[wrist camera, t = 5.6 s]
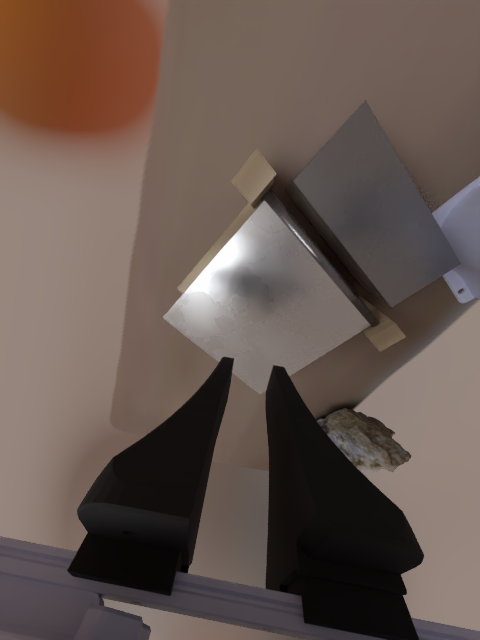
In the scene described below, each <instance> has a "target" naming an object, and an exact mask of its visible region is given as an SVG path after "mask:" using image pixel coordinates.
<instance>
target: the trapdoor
mask: <svg viewBox="0 0 480 640" xmlns="http://www.w3.org/2000/svg"><path fill="white" fill-rule="evenodd" d="M285 191H286V193H287V194H288V195H289V196H290V198H291V199H292V200H293V201H294V203H295V204H296V205H297V206H298V208H299V209H300V210H301V211H302V213H303V214H304V215H305V216H306V218H307V219H308V220H309V221H310V223H311V224H312V225H313V226H314V228H315V229H316V230H317V231H318V233H319V234H320V235H321V236H322V238H323V239H324V240H325V241H326V243H327V244H328V245H329V246H330V248H331V249H332V250H333V251H334V253H335V254H336V255H337V256H338V257H339V259H340V260H341V261H342V262H343V264H344V265H345V266H346V267H347V269H348V270H349V271H350V272H351V274H352V275H353V276H354V277H355V279H356V280H357V281H358V282H359V284H360V285H361V286H362V287H363V289H365V290H366V291H368V292H369V293H371V294H372V295H374V296H375V297H377V298H378V299H380V300H381V301H383V302H384V303H385V304H387V305H388V306H390V307H391V308H392V307H394V306H395V305H397V304H398V303H400V302H402V301H403V300H405V299H406V298H408V297H409V296H411V295H413V294H414V293H416V292H417V291H419V290H420V289H422V288H424V287H425V286H427V285H428V284H430V283H432V282H433V281H435V280H436V279H438V278H439V277H441V276H443V275H444V274H446V273H447V272H449V271H450V270H452V269H454V268H455V267H457V266H458V265H460V264H461V263H460V261H459V259H458V257H457V256H456V254H455V252H454V251H453V249H452V247H451V245H450V244H449V242H448V240H447V239H446V237H445V235H444V233H443V232H442V230H441V228H440V227H439V225H438V223H437V221H436V220H435V218H434V216H433V215H432V213H431V211H430V209H429V208H428V206H427V204H426V203H425V201H424V199H423V197H422V196H421V194H420V192H419V191H418V189H417V187H416V185H415V184H414V182H413V180H412V179H411V177H410V175H409V174H408V172H407V170H406V168H405V167H404V165H403V163H402V162H401V160H400V158H399V156H398V155H397V153H396V151H395V150H394V148H393V146H392V144H391V143H390V141H389V139H388V138H387V136H386V134H385V132H384V131H383V129H382V127H381V126H380V124H379V122H378V120H377V119H376V117H375V115H374V114H373V112H372V110H371V108H370V107H369V105H368V103H367V102H366V100H365V101H364V102H363V103H362V104H361V106H360V107H359V108H358V109H357V110H356V111H355V112H354V113H353V115H352V116H351V117H350V118H349V119H348V120H347V121H346V122H345V123H344V125H343V126H342V127H341V128H340V129H339V130H338V131H337V132H336V134H335V135H334V136H333V137H332V138H331V139H330V140H329V141H328V142H327V144H326V145H325V146H324V147H323V148H322V149H321V150H320V151H319V153H318V154H317V155H316V156H315V157H314V158H313V159H312V160H311V161H310V163H309V164H308V165H307V166H306V167H305V168H304V169H303V170H302V172H301V173H300V174H299V175H298V176H297V177H296V178H295V179H294V180H293V182H292V183H291V184H290V185H289V186H288V188H287V189H286V190H285ZM261 201H262V202H263V203H262V204H261V205H260V206H259V207H258V208H257V209H256V211H255V212H254V213H253V214H252V215H251V216H250V217H249V219H248V220H247V221H246V222H245V223H244V224H243V226H242V227H241V228H240V229H239V230H238V231H237V232H236V234H235V235H234V236H233V237H232V238H231V239H230V241H229V242H228V243H227V244H226V245H225V246H224V247H223V249H222V250H221V251H220V252H219V253H218V254H217V256H216V257H215V258H214V259H213V260H212V261H211V262H210V264H209V265H208V266H207V267H206V268H205V269H204V271H203V272H202V273H201V274H200V275H199V276H198V277H197V279H196V280H195V281H194V282H193V283H192V284H191V285H190V287H189V288H188V289H187V290H186V291H185V292H184V294H183V295H182V296H181V297H180V298H179V299H178V300H177V302H176V303H175V304H174V305H173V306H172V307H171V309H170V310H169V311H168V312H167V313H166V314H165V315H164V317H163V318H164V319H165V320H166V321H168V322H169V323H170V324H171V325H173V326H174V327H175V328H176V329H178V330H179V331H180V332H181V333H183V334H184V335H185V336H186V337H188V338H189V339H190V340H192V341H193V342H194V343H195V344H197V345H198V346H199V347H200V348H202V349H203V350H204V351H205V352H207V353H208V354H209V355H211V356H212V357H213V358H214V359H216V360H217V361H218V362H220V360H221V358H222V357H229V358H234V363H233V370H232V373H233V374H235V375H236V376H237V377H238V378H240V379H241V380H242V381H243V382H245V383H246V384H247V385H248V386H250V387H251V388H252V389H254V390H255V391H256V392H257V393H259V394H262V393H263V392H265V391H266V389H267V385H268V382H269V378H270V375H271V371H272V368H273V365H276V366H282V367H284V368H285V369H286V371H287V373H288V375H289V376H291V375H292V374H294V373H295V372H297V371H299V370H300V369H302V368H303V367H305V366H307V365H308V364H310V363H311V362H313V361H315V360H316V359H318V358H319V357H321V356H323V355H324V354H326V353H327V352H329V351H331V350H332V349H334V348H335V347H337V346H339V345H340V344H342V343H343V342H345V341H347V340H348V339H350V338H351V337H353V336H355V335H356V334H358V333H359V332H361V331H363V330H364V329H366V328H367V327H374V326H376V325H378V323H379V320H378V319H377V318H376V317H375V315H374V314H373V313H372V312H371V310H370V309H369V308H368V307H367V306H366V304H365V303H364V302H363V301H362V300H361V298H360V297H359V296H358V295H357V294H356V292H355V291H354V290H353V289H352V287H351V286H350V285H349V284H348V283H347V281H346V280H345V279H344V278H343V277H342V275H341V274H340V273H339V272H338V270H337V269H336V268H335V267H334V266H333V264H332V263H331V262H330V261H329V260H328V258H327V257H326V256H325V255H324V253H323V252H322V251H321V250H320V249H319V247H318V246H317V245H316V244H315V243H314V241H313V240H312V239H311V238H310V236H309V235H308V234H307V233H306V232H305V230H304V229H303V228H302V227H301V226H300V224H299V223H298V222H297V221H296V219H295V218H294V217H293V216H292V215H291V213H290V212H289V211H288V210H287V209H286V207H285V206H284V205H283V204H282V202H281V201H280V200H279V199H278V198H277V196H276V195H275V194H274V193H273V192H272V190H271V189H269V190H268V191H267V192H266V194H265V195H264V196H263V197H262V199H261Z"/></svg>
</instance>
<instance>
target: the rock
mask: <svg viewBox="0 0 480 640" xmlns="http://www.w3.org/2000/svg"><path fill="white" fill-rule="evenodd" d="M317 422H318V423H319V425H320V426H321V427H322V429H323V430H324V431H325V433H326V434H327V435H328V436H329V438H330V439H331V440H332V441H333V442H334V443H335V445H336V446H337V447H338V448H339V449H340V450H341V451H342V452H343V454H344V455H345V456H346V457H347V458H348V459H349V460H350V461H351V462H352V463H353V464H354V465H355V467H356V468H357V469H358V470H359V471H362V470H372V471H374V472H377V471H379V470H380V469H386V470H388V471H391V472H393V471H394V470H395V469H396V468H397V467H398V466H399V465H401V464H404V462H408V461H409V459H410V458H411V455H410V453H409V452H407V451H405V450H404V449H403V448H402V447H401V446H400V444H398V443H397V442H396V441H394V440H393V439H392V436H393V435H394V434H395V432H393V431H392V430H391V429H389V428H387V427H385V425H384V424H383V423H382V422H380V421H379V420H377V419H375V418H373V417H367V416H366V415H364V414H362V413H361V412H358V413H357V412H355V411H354V410H352V409H347V408H344V409H341V410H338V411H335V412H333V413H332V414H329V415H328V416H327V417H326V418H325V419H319V420H317Z"/></svg>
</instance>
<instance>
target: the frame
mask: <svg viewBox="0 0 480 640" xmlns="http://www.w3.org/2000/svg"><path fill="white" fill-rule="evenodd" d="M275 177H276V172H275V171H274V170H273V169H272V167H271V166H270V165H269V164H268V162H267V161H266V160H265V158H264V157H263V156H262V155H261V153H260V152H259V151H258V150H257V148H256V149H255V151H254V152H253V153H252V155H251V156H250V157H249V159H248V160H247V161H246V163H245V164H244V165H243V167H242V168H241V169H240V171H239V172H238V173H237V175H236V176H235V177H234V179H233V180H232V181H231V183H232V184H233V185H234V186H235V187H236V189H237V190H238V191H239V192H240V194H241V195H242V196H243V197H244V198H245V199H246V200H247V201H248V204H247V205H246V207H245V208H244V209H243V210H242V211H241V213H240V214H239V215H238V216H237V217H236V219H235V220H234V221H233V222H232V223H231V224H230V226H229V227H228V228H227V229H226V230H225V232H224V233H223V234H222V235H221V236H220V238H219V239H218V240H217V241H216V242H215V244H214V245H213V246H212V247H211V248H210V250H209V251H208V252H207V253H206V254H205V256H204V257H203V258H202V259H201V260H200V262H199V263H198V264H197V265H196V266H195V268H194V269H193V270H192V271H191V272H190V274H189V275H188V276H187V277H186V278H185V280H184V281H183V282H182V283H181V284H180V286H179V287H178V288H177V289H178V290H179V291H180V292H181V293H182V294H184V292H185V291H186V290H187V289H188V288H189V287H190V285H191V284H192V283H193V282H194V281H195V280H196V279H197V277H198V276H199V275H200V274H201V273H202V272H203V271H204V269H205V268H206V267H207V266H208V265H209V264H210V262H211V261H212V260H213V259H214V258H215V257H216V256H217V254H218V253H219V252H220V251H221V250H222V249H223V247H224V246H225V245H226V244H227V243H228V242H229V241H230V239H231V238H232V237H233V236H234V235H235V234H236V232H237V231H238V230H239V229H240V228H241V227H242V226H243V224H244V223H245V222H246V221H247V220H248V219H249V217H250V216H251V215H252V214H253V213H254V212H255V211H256V209H257V208H258V207H259V206H260V205H261V204H262V203H263V202H262V201H261V199H262V197H263V196H264V195H265V194H266V192H267V191H268V190H269V189H271V188H272V186H273V183H274V180H275ZM359 297H360V298H361V300H362V301H363V302H364V303H365V304H366V306H367V307H368V308H369V309H370V310H371V312H372V313H373V314H374V315H375V317H376V318H377V319H378V320H379V323H378V325H376V326H374V327H367V328H366V329H364V330H363V331H362V332H363V333H364V334H365V335H366V337H367V338H368V339H369V340H370V341H371V342H372V343H373V344H374V345H375V347H376V348H377V349H378V350H379V351H382V350H384V349H386V348H388V347H389V346H391V345H393V344H395V343H397V342H398V341H400V340H402V339H404V338H405V337H406V336H405V335H404V334H403V332H402V331H401V330H400V328H399V327H398V326H397V325H396V323H394V322H393V321H392V320H391V319H389V318H388V317H387V316H385V315H384V314H383V313H382V312H380V311H379V310H378V309H376V308H375V307H374V306H373V305H371V304H370V303H369V302H367V301H366V300H365V299H364V298H362V297H361V296H359Z"/></svg>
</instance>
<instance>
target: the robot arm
mask: <svg viewBox="0 0 480 640" xmlns="http://www.w3.org/2000/svg"><path fill="white" fill-rule="evenodd" d="M432 215H433V216H434V218H435V220H436V221H437V223H438V225H439V227H440V228H441V230H442V232H443V233H444V235H445V237H446V239H447V240H448V242H449V244H450V245H451V247H452V249H453V251H454V252H455V254H456V256H457V257H458V259H459V261H460V263H461V264H460V265H458V266H457V267H455V268H454V269H452V270H450V271H449V272H447V273H446V274H444V275H443V276H442V277H443V278H444V280H445V281H446V283H447V284H448V286H449V288H450V289H451V291H452V292H453V294H454V296H455V297H456V299H457V300H458V302H460V303H466V302H468V301H470V300H472V299H474V298H477V299H480V176H479V177H478V178H477V179H475V180H474V181H473V182H471V183H470V184H469V185H468V186H466V187H465V188H464V189H462V190H461V191H460V192H458V193H457V194H456V195H454V196H453V197H452V198H451V199H449V200H448V201H447V202H445V203H444V204H443V205H441V206H440V207H439V208H437V209H436V210H435V211H434V212H432ZM462 288H463V291H462V292H461V293H458V290H460V289H462ZM233 363H234V358H229V357H222V358H221V360H220V362H219V364H218V365H217V367H216V368H215V370H214V371H213V373H212V374H211V375H210V376H209V378H208V379H207V380H206V382H205V383H204V384H203V385H202V386H201V387H200V388H199V390H198V391H197V392H196V393H195V394H194V395H193V396H192V397H191V398H190V399H189V400H188V401H187V402H186V403H185V404H184V405H183V406H182V407H181V408H180V409H178V410H177V411H176V412H175V413H174V414H173V415H172V416H171V417H169V418H168V419H167V420H166V421H164V422H163V423H162V424H161V425H159V426H158V427H157V428H155V429H154V430H153V431H151V432H150V433H149V434H147V435H146V436H145V437H143V438H142V439H141V440H139V441H138V442H136V443H135V444H133V445H131V446H130V447H128V448H127V449H125V450H124V451H122V452H121V453H119V454H118V455H116V456H115V457H113V458H112V460H111V461H110V462H109V463H108V464H107V466H106V467H105V468H104V470H103V471H102V472H101V474H100V475H99V476H98V477H97V479H96V480H95V482H94V483H93V485H92V487H91V488H90V490H89V491H88V493H87V494H86V496H85V498H84V499H83V501H82V502H81V504H80V506H79V508H78V510H77V515H78V517H79V520H80V521H81V523H82V524H83V526H84V527H85V529H86V530H87V532H88V533H87V535H86V537H85V539H84V541H83V543H82V544H81V546H80V548H79V550H78V551H72V550H67V549H62V548H57V547H52V546H46V545H41V544H36V543H31V542H26V541H21V540H16V539H11V538H6V537H1V536H0V640H148V639H149V635H150V632H151V629H150V626H148V625H146V624H144V623H143V621H142V617H140V616H137V615H133V614H130V613H126V612H123V611H120V610H116V609H113V608H109V607H105V606H104V601H103V599H102V598H104V599H109V600H114V601H119V602H124V603H129V604H134V605H139V606H144V607H149V608H154V609H159V610H163V611H168V612H174V613H178V614H183V615H188V616H193V617H198V618H203V619H208V620H213V621H218V622H223V623H228V624H233V625H237V626H243V627H247V628H252V629H257V630H262V631H267V632H272V633H277V634H282V635H287V636H291V637H297V638H301V639H306V640H480V631H475V630H470V629H465V628H460V627H455V626H450V625H445V624H440V623H435V622H430V621H425V620H420V619H414V618H411V616H410V614H409V611H408V608H407V605H406V603H405V600H404V598H403V595H406V594H407V590H406V588H405V585H404V582H403V580H402V577H401V575H400V574H402V573H404V572H407V571H408V570H411V569H413V568H415V567H417V566H418V565H420V564H421V563H422V561H423V558H424V554H423V552H422V550H421V548H420V545H419V543H418V542H417V539H416V537H415V535H414V533H413V531H412V528H411V527H410V525H409V523H408V521H407V519H406V517H405V515H404V514H403V512H402V510H400V509H399V508H398V507H397V506H396V505H395V504H394V503H393V502H392V501H391V500H390V499H389V498H387V497H386V496H385V495H384V494H383V493H382V492H381V491H380V490H379V489H378V488H377V487H376V486H375V485H373V484H372V483H371V482H370V481H369V480H368V479H367V478H366V477H365V476H364V475H363V474H362V473H361V472H360V471H359V470H358V469H357V468H356V467H355V465H354V464H353V463H352V462H351V461H350V460H349V459H348V458H347V457H346V456H345V455H344V454H343V452H342V451H341V450H340V449H339V448H338V447H337V446H336V445H335V443H334V442H333V441H332V440H331V439H330V438H329V436H328V435H327V434H326V433H325V431H324V430H323V429H322V427H321V426H320V425H319V423H318V422H317V421H316V419H315V418H314V416H313V415H312V414H311V412H310V411H309V409H308V408H307V406H306V405H305V403H304V401H303V400H302V398H301V396H300V395H299V393H298V392H297V390H296V388H295V386H294V384H293V383H292V381H291V379H290V377H289V375H288V373H287V371H286V369H285V368H284V367H282V366H276V365H273V368H272V371H271V375H270V378H269V382H268V385H267V389H266V421H267V433H268V446H269V511H268V542H267V567H266V568H267V569H266V589H263V588H258V587H253V586H248V585H243V584H238V583H233V582H228V581H223V580H218V579H213V578H208V577H203V576H198V575H192V574H188V568H189V566H190V565H191V563H192V560H193V554H194V549H195V544H196V538H197V533H198V528H199V523H200V517H201V513H202V508H203V502H204V497H205V492H206V487H207V482H208V477H209V471H210V466H211V462H212V456H213V451H214V447H215V443H216V439H217V435H218V432H219V428H220V425H221V421H222V418H223V414H224V411H225V407H226V403H227V399H228V394H229V388H230V382H231V376H232V370H233Z"/></svg>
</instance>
